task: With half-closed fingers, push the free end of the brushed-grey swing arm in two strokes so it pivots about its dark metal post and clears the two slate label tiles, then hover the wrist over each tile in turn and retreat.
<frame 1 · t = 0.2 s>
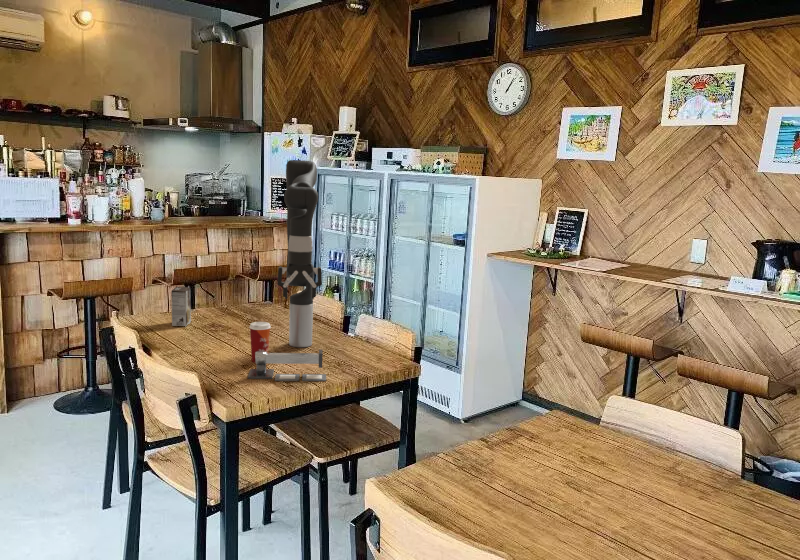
hand: (299, 298, 199), 28 cm above the table, fingers open, 8 cm apart
label tile 2: (314, 378, 207), on the table
pivot post: (261, 374, 208), on the table
swing arm: (289, 358, 208), point 6 cm above the table, hinge at 0.0°
paper cup: (259, 361, 223), on the table
label tile 1: (287, 377, 206), on the table
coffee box: (181, 324, 269), on the table
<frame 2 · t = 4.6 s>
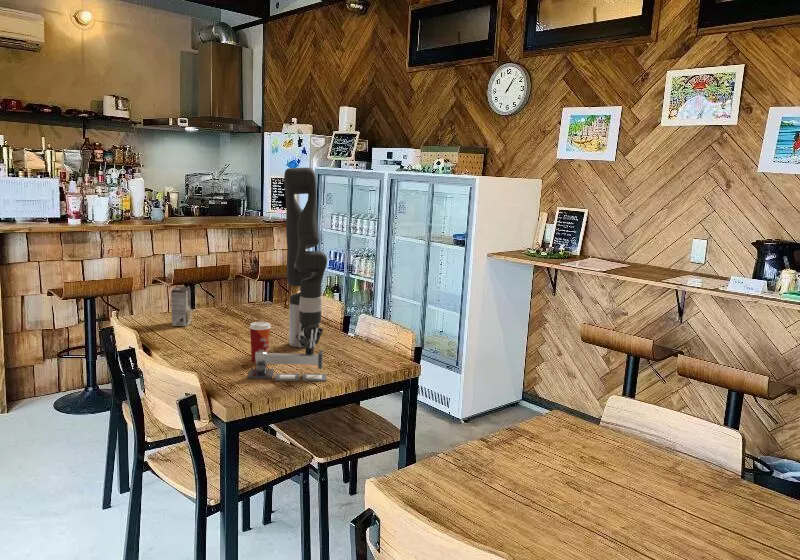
hand: (309, 357, 211), 6 cm above the table, fingers closed
swing arm: (288, 358, 207), point 6 cm above the table, hinge at 3.2°, touching gripper
everything else where it was.
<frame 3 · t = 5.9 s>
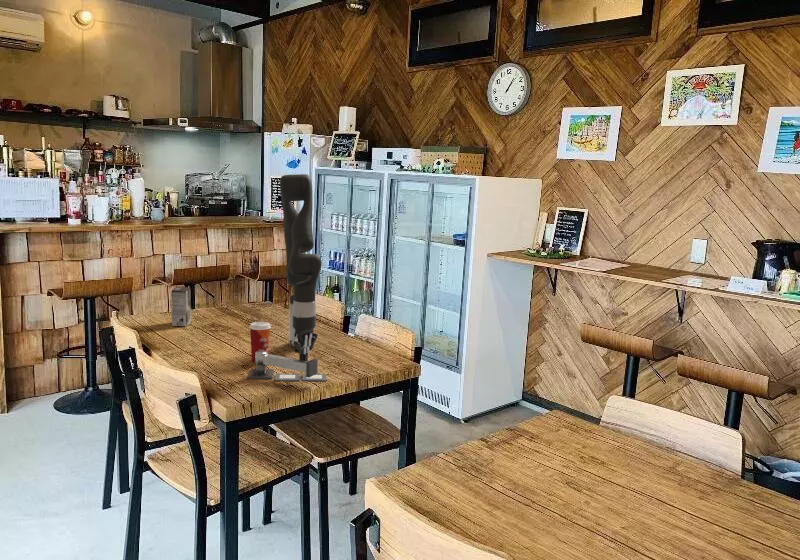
hand: (303, 363, 204), 6 cm above the table, fingers closed
swing arm: (284, 362, 203), point 6 cm above the table, hinge at 30.7°, touching gripper
everything else where it was.
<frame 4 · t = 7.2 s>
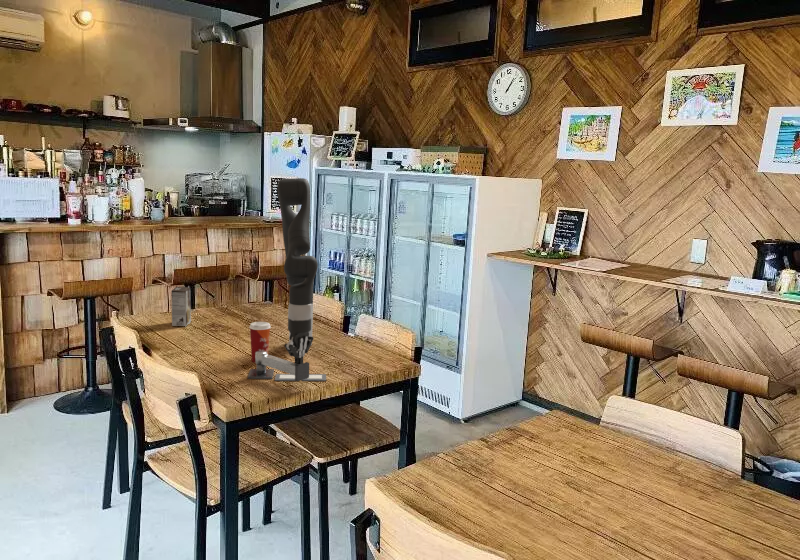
hand: (298, 367, 200), 5 cm above the table, fingers closed
swing arm: (279, 364, 201), point 6 cm above the table, hinge at 44.9°, touching gripper
everything else where it was.
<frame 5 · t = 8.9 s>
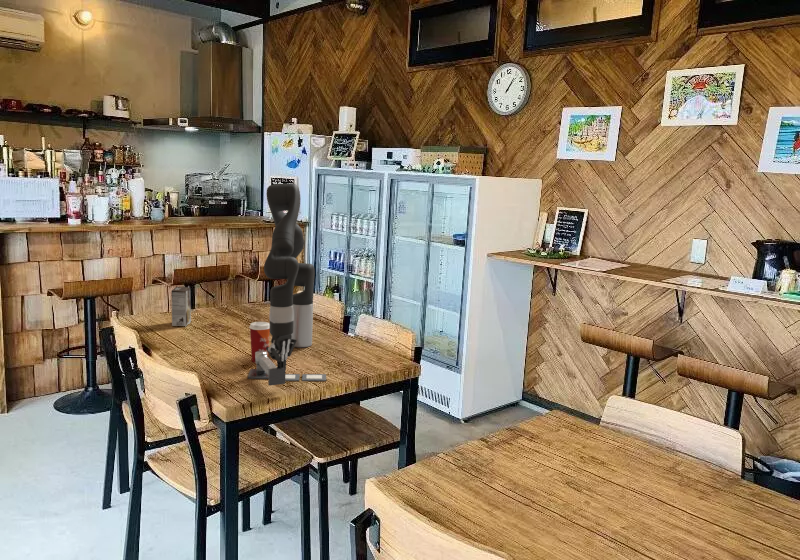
hand: (281, 371, 196), 6 cm above the table, fingers closed
swing arm: (268, 366, 199), point 6 cm above the table, hinge at 70.9°, touching gripper
everything else where it was.
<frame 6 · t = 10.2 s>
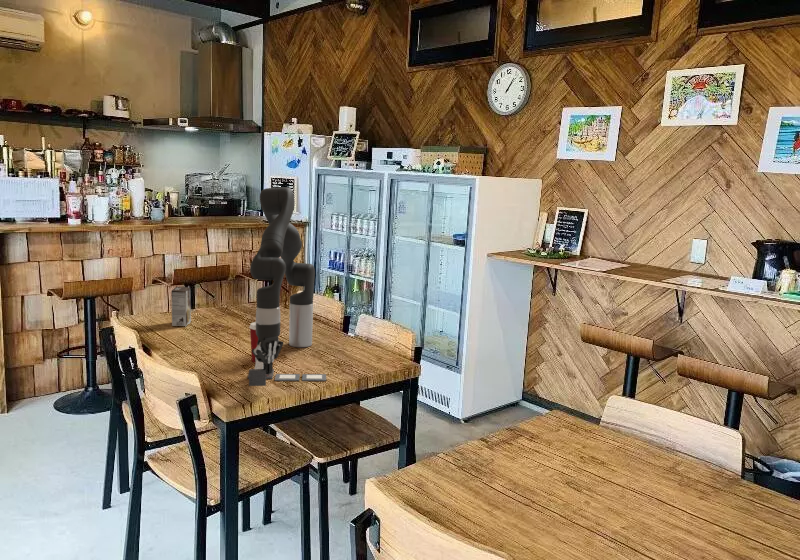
hand: (267, 373, 193), 5 cm above the table, fingers closed
swing arm: (259, 366, 198), point 6 cm above the table, hinge at 87.8°, touching gripper
everything else where it was.
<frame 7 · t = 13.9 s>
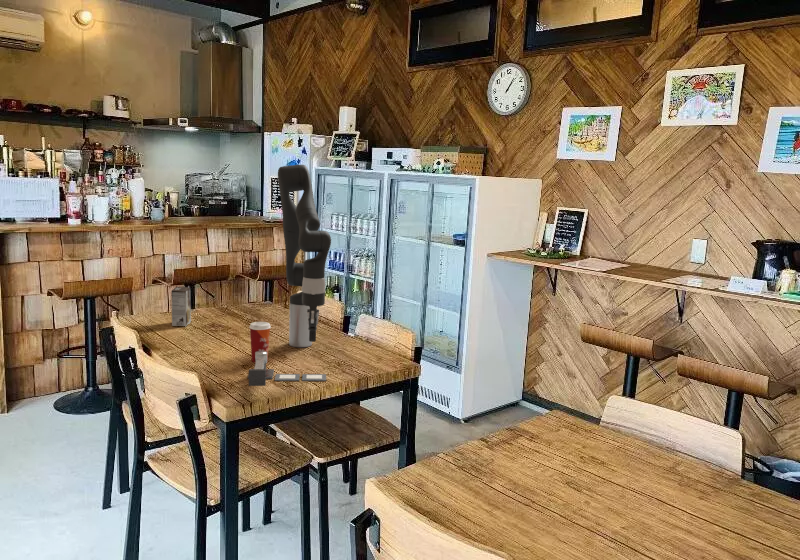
hand: (312, 341, 205), 13 cm above the table, fingers closed
swing arm: (259, 366, 198), point 6 cm above the table, hinge at 88.0°
everything else where it was.
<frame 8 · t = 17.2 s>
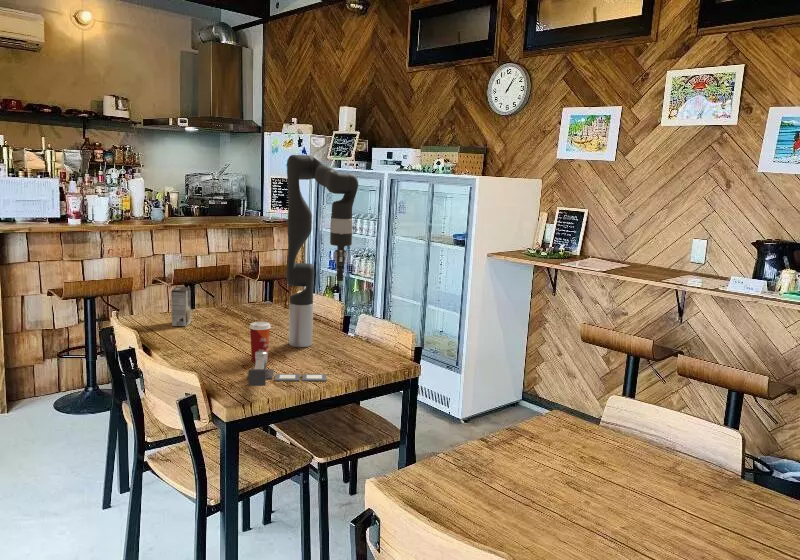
hand: (339, 280, 214), 32 cm above the table, fingers closed
nothing on the table moved.
at the end: swing arm at +88° (first picture: +0°); paper cup moved 0.2 cm from its start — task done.
